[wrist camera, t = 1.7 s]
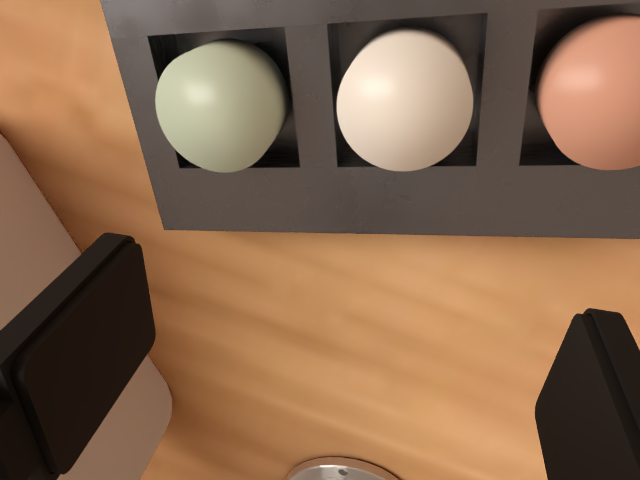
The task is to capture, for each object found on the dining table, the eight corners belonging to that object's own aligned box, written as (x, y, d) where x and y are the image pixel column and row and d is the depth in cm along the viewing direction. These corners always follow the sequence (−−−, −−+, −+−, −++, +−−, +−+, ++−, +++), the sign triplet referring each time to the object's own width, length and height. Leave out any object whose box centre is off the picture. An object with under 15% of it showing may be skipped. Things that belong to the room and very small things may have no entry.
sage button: (295, 150, 28) (281, 172, 25) (194, 152, 29) (171, 172, 26) (281, 34, 25) (264, 45, 22) (169, 41, 26) (141, 53, 23)
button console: (670, 203, 28) (703, 240, 25) (190, 200, 34) (164, 229, 31) (768, -126, 20) (834, -138, 17) (129, -56, 26) (84, -55, 23)
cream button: (464, 147, 26) (468, 171, 23) (349, 149, 27) (341, 171, 24) (473, 22, 23) (478, 33, 20) (342, 30, 24) (331, 41, 21)
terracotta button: (660, 145, 24) (687, 169, 21) (527, 147, 25) (537, 170, 23) (697, 7, 21) (734, 17, 18) (543, 17, 22) (558, 28, 20)
